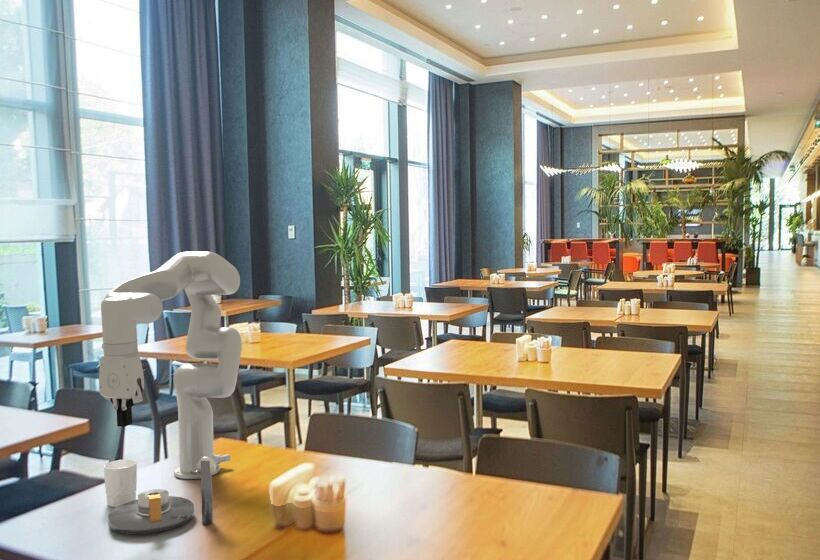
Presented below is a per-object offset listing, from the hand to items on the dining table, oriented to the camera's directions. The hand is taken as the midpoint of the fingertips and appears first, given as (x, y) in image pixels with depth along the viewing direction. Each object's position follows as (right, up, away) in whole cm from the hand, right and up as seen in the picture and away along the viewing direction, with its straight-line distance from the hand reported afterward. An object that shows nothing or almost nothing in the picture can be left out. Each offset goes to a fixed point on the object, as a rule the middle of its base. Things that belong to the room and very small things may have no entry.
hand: (124, 425), depth 171 cm
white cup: (-6, -22, +12) cm, 26 cm away
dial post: (+20, -23, -2) cm, 31 cm away
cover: (+8, -20, -2) cm, 21 cm away
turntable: (+7, -23, -1) cm, 24 cm away
